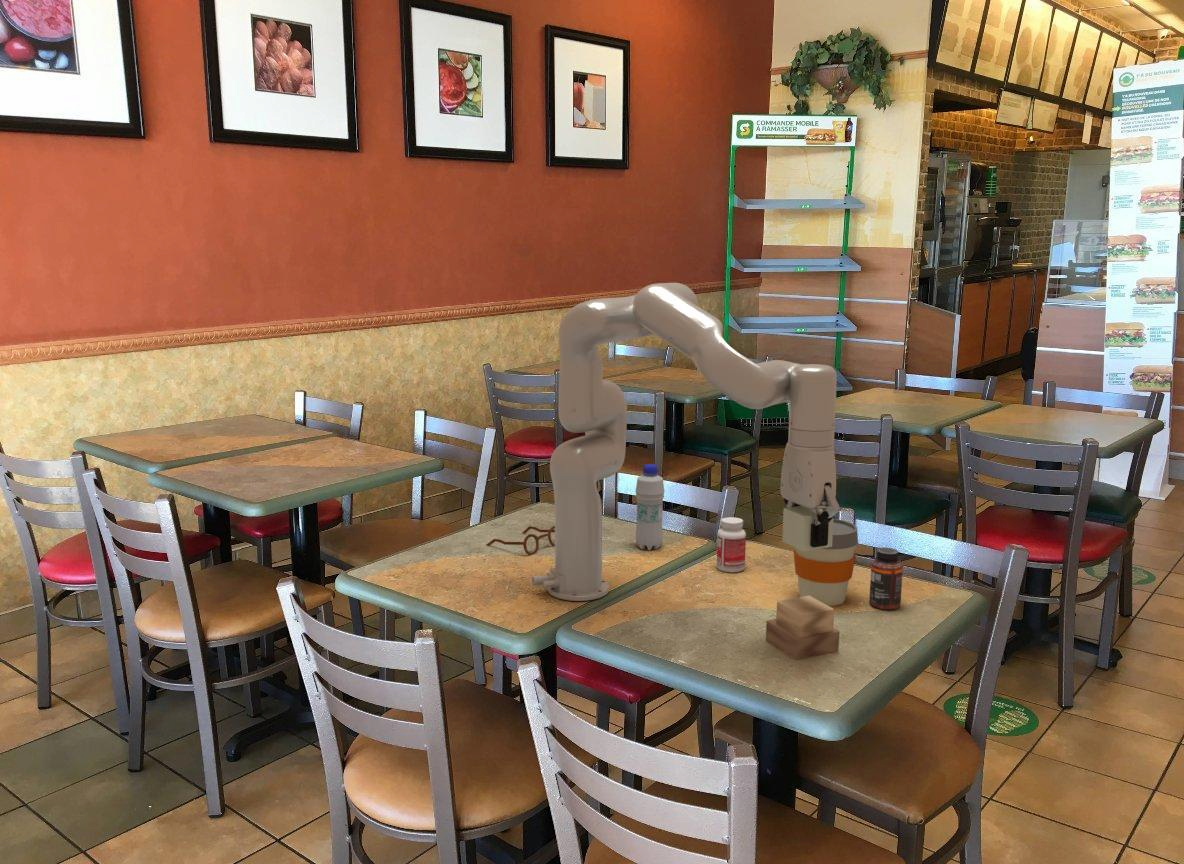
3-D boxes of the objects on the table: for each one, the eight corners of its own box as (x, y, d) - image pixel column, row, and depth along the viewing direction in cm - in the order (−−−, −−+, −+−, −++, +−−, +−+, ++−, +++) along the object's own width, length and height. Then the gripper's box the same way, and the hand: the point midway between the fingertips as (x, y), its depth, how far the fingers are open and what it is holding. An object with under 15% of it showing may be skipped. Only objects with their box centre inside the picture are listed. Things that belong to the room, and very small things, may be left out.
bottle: (664, 551, 217) (666, 467, 213) (635, 551, 217) (636, 467, 213) (662, 542, 223) (664, 460, 220) (634, 542, 223) (635, 460, 220)
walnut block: (795, 661, 161) (796, 639, 160) (765, 641, 169) (766, 620, 168) (838, 653, 164) (839, 631, 163) (807, 633, 172) (808, 613, 172)
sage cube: (802, 551, 158) (804, 516, 157) (782, 541, 164) (783, 508, 163) (832, 546, 161) (833, 512, 159) (811, 537, 166) (812, 504, 165)
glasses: (526, 558, 213) (526, 537, 212) (485, 547, 221) (485, 526, 220) (563, 545, 223) (563, 524, 222) (523, 534, 231) (523, 514, 230)
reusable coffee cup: (815, 613, 181) (819, 538, 178) (777, 591, 192) (781, 521, 189) (867, 603, 186) (872, 531, 183) (828, 583, 197) (831, 514, 194)
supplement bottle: (900, 601, 187) (904, 547, 185) (900, 612, 182) (904, 556, 179) (869, 598, 189) (873, 544, 187) (867, 608, 184) (871, 553, 181)
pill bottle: (750, 568, 206) (752, 520, 204) (733, 575, 202) (734, 525, 200) (727, 561, 210) (729, 514, 208) (710, 568, 206) (712, 519, 204)
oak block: (800, 637, 161) (801, 615, 160) (776, 622, 167) (777, 601, 166) (833, 630, 164) (834, 609, 163) (808, 616, 170) (809, 595, 169)
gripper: (763, 431, 165) (760, 529, 168) (824, 449, 149) (819, 558, 153) (799, 427, 168) (795, 525, 171) (862, 445, 152) (857, 552, 156)
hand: (807, 539), depth 162 cm, fingers closed on sage cube, 6 cm apart
